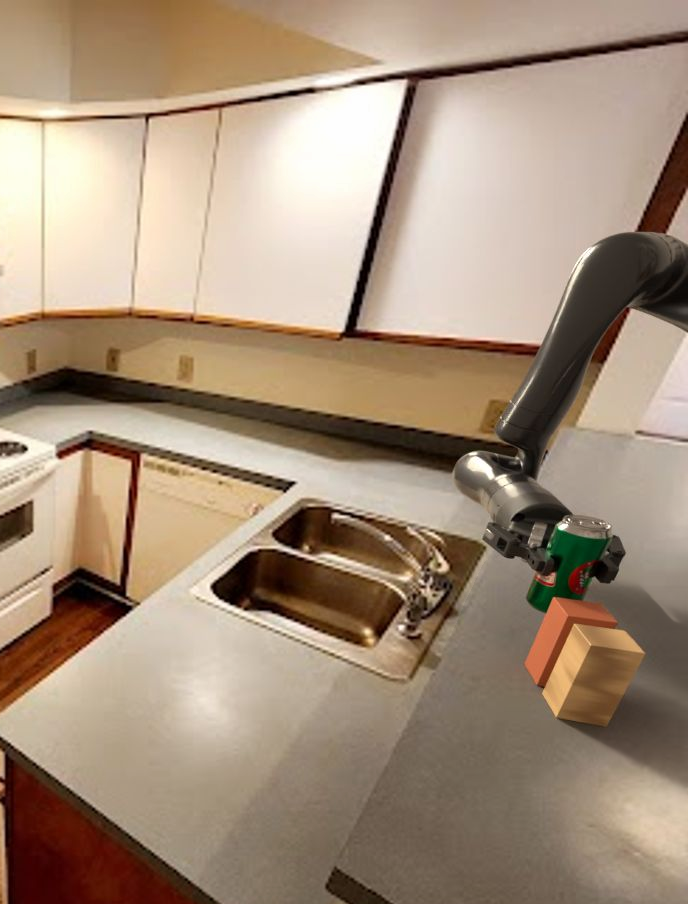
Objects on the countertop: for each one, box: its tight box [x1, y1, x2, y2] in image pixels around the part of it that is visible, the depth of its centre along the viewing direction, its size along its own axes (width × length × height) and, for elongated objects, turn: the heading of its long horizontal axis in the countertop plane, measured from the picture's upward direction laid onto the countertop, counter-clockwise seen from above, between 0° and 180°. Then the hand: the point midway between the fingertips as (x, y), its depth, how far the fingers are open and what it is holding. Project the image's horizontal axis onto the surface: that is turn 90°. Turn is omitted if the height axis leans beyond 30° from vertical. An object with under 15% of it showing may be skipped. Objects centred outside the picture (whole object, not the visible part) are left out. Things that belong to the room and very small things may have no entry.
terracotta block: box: [524, 597, 619, 688], centre depth 74 cm, size 4×4×10 cm
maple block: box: [541, 624, 646, 728], centre depth 69 cm, size 4×4×10 cm
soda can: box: [525, 514, 614, 614], centre depth 76 cm, size 5×5×12 cm
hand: (578, 572), depth 74 cm, fingers closed on soda can, 5 cm apart
